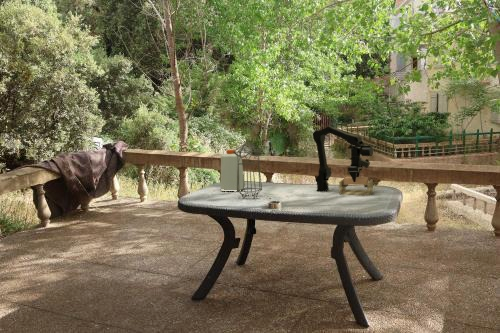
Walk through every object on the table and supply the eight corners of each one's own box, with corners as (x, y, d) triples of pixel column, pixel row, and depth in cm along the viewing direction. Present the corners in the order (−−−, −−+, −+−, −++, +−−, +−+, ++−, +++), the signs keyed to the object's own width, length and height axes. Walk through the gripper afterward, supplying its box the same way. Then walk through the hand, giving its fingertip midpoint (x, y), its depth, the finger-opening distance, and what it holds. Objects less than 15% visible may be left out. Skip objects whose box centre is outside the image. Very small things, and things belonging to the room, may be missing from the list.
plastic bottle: (240, 192, 310) (238, 150, 306) (218, 192, 314) (216, 151, 310) (246, 188, 324) (244, 148, 320) (226, 188, 328) (224, 149, 325)
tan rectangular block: (343, 184, 287) (343, 178, 287) (346, 182, 293) (345, 176, 292) (366, 185, 282) (366, 178, 281) (368, 183, 287) (368, 177, 287)
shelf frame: (339, 194, 286) (339, 181, 285) (343, 190, 297) (343, 178, 296) (369, 195, 279) (369, 182, 278) (372, 191, 290) (372, 179, 289)
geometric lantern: (233, 199, 287) (230, 143, 284) (244, 195, 301) (241, 141, 298) (256, 200, 280) (253, 142, 277) (266, 195, 295) (264, 141, 291)
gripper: (366, 157, 273) (366, 183, 275) (371, 154, 290) (371, 178, 292) (347, 157, 278) (347, 183, 280) (353, 154, 295) (354, 178, 297)
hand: (356, 180), depth 287 cm, fingers open, 9 cm apart
